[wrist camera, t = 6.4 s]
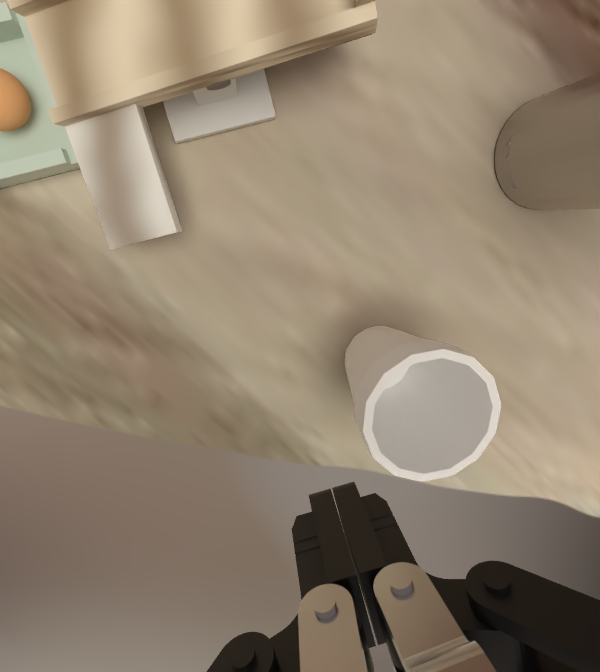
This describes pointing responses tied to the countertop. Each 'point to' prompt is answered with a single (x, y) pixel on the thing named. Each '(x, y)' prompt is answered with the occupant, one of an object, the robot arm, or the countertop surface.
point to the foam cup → (420, 403)
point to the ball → (13, 102)
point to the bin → (38, 132)
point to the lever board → (161, 79)
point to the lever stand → (220, 108)
